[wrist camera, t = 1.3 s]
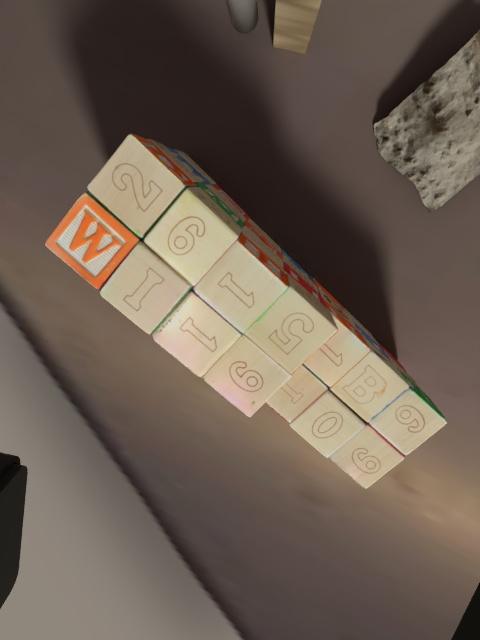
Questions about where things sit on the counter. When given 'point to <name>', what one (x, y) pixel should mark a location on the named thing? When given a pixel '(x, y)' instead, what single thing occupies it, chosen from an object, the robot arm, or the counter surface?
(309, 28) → the door frame
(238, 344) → the stack of blocks
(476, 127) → the stone fragment
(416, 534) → the counter surface
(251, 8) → the door
